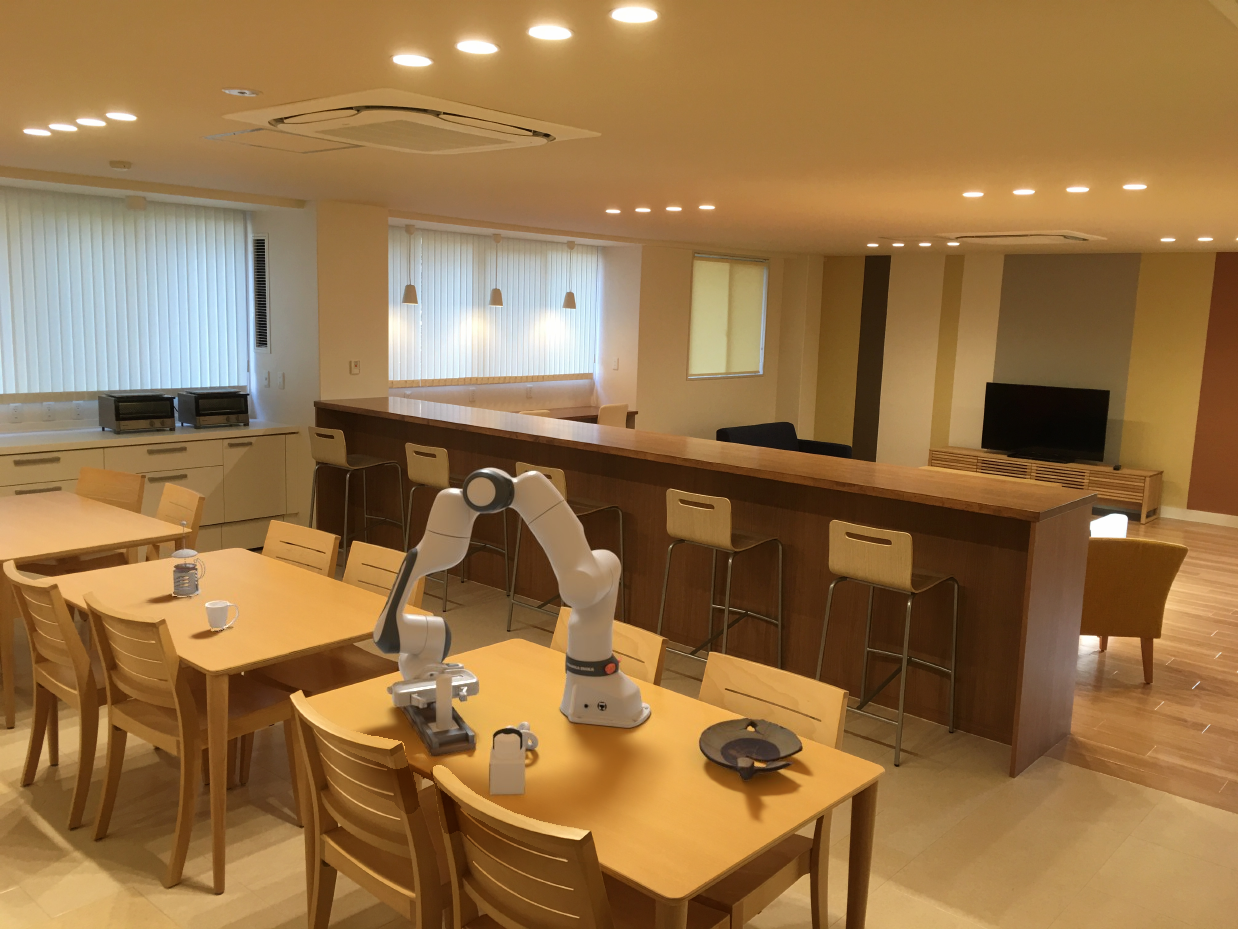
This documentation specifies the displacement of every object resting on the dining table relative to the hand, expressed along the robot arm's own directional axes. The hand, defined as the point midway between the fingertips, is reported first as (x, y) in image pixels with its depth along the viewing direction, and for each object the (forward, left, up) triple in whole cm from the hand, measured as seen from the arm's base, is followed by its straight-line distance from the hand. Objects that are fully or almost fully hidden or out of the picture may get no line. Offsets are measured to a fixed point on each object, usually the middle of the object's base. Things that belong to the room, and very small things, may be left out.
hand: (444, 701), depth 220 cm
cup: (+102, -38, -9) cm, 109 cm away
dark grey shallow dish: (-66, -16, -9) cm, 69 cm away
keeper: (0, 0, -7) cm, 7 cm away
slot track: (+6, -6, -9) cm, 12 cm away
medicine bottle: (-24, +14, -9) cm, 29 cm away
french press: (+139, -61, -9) cm, 152 cm away
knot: (-19, -2, -9) cm, 21 cm away
